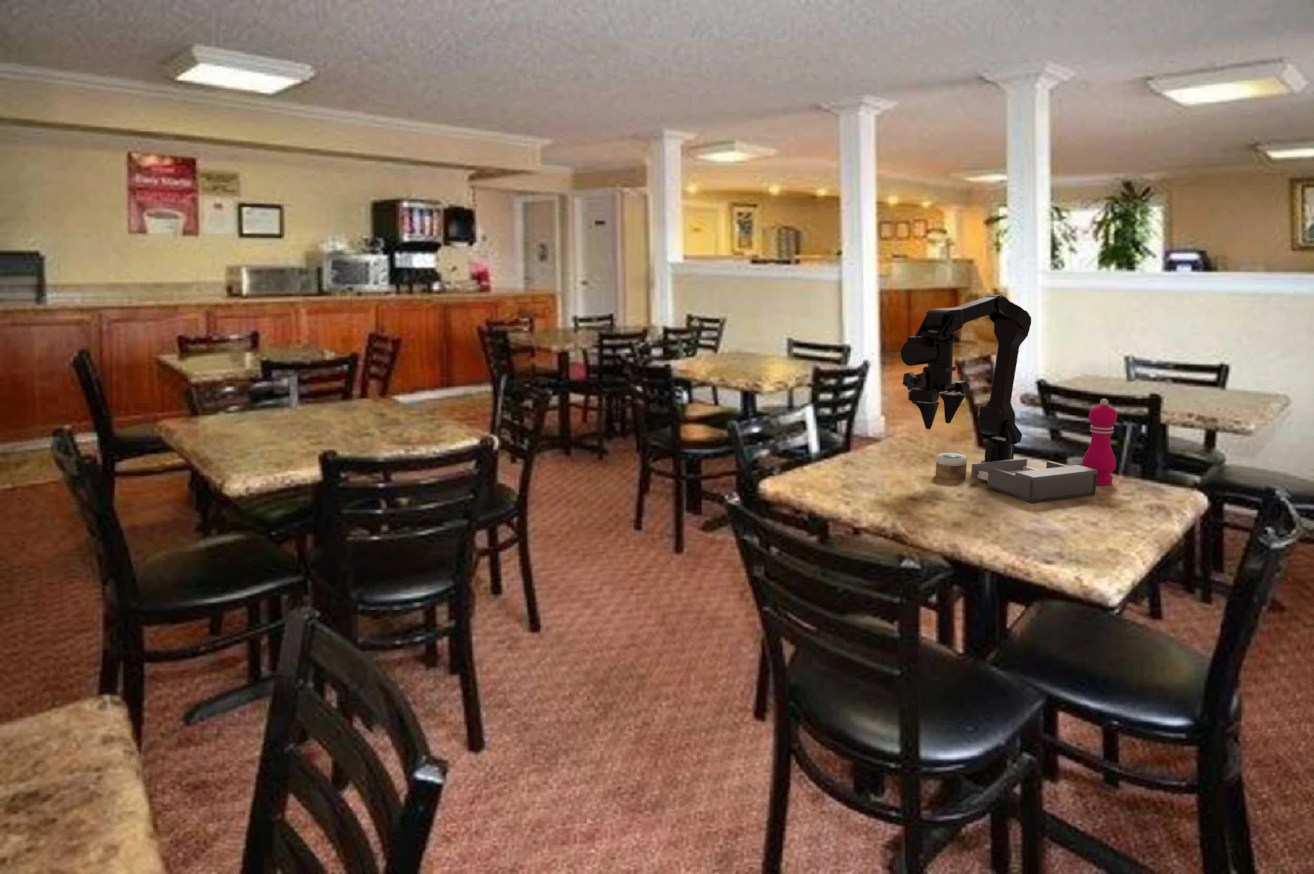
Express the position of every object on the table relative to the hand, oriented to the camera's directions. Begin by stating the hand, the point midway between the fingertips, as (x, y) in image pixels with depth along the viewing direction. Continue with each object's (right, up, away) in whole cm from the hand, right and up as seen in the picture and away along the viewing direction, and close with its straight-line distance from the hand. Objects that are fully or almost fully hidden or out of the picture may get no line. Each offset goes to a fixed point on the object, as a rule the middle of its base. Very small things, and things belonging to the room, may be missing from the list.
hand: (938, 426), depth 223 cm
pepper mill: (+36, -14, -6) cm, 39 cm away
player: (+19, -15, -14) cm, 28 cm away
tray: (+16, -13, -8) cm, 22 cm away
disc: (+3, -9, 0) cm, 10 cm away
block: (+3, -12, +1) cm, 13 cm away
